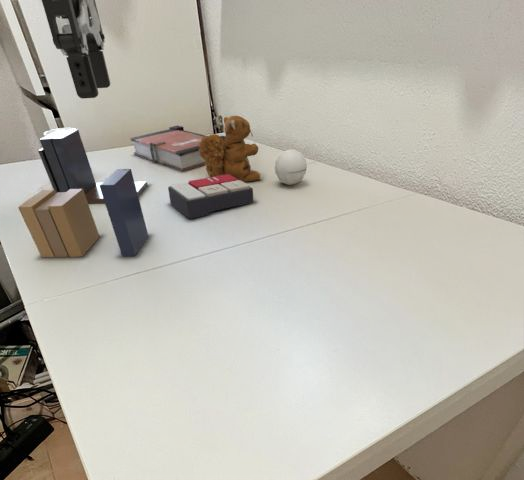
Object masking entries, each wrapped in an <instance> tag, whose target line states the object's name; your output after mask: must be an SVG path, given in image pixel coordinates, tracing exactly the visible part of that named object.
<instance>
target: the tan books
mask: <svg viewBox="0 0 524 480" xmlns="http://www.w3.org/2000/svg"><path fill="white" fill-rule="evenodd" d="M17 209H18V210H19V213H20V215H21V217H22V219H23V222H24V223H25V225H26V228H27V230H28V233H29V234H30V235H31V238H32V240H33V242H34V244H35V246H36V248H37V251H38V253H39V254H40V257H41V258H82V257H84V256H85V255H86V253H87V252H88V251H89V250H90V249H91V247H92V246H93V245H94V244H95V243H96V242H97V241H98V239H99V238H100V236H101V235H100V234H99V231H98V228H97V225H96V222H95V219H94V217H93V214H92V210H91V208H90V205H89V203H88V202H87V199H86V196H85V193H84V191H83V189H70V190H68V191H67V192H57V193H56V191H55V190H54V189H41V190H40V191H38V192H37V193H35V194H34V195H33V196H31V197H29V198H28V199H27V200H26V201H24V202H23V203H22V204H20V205H18V206H17Z"/></svg>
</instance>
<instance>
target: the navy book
mask: <svg viewBox="0 0 524 480" xmlns="http://www.w3.org/2000/svg"><path fill="white" fill-rule="evenodd" d="M134 182H135V179H134V175H133V172H132V169H131V168H116V170H114V172H112V173H111V174H110V175H109V176H108V177H107V178H106V179H105V180H103V182H101V183H102V184H100V185H99V186H100V189H101V192H102V195H103V198H104V202H105V203H104V204H105V207H106V211H107V214H108V217H109V220H110V223H111V226H112V229H113V232H114V235H115V239H116V242H117V246H118V248H119V251H120V254H121V257H136V256H137V255H138V253H139V251H140V250H141V248H142V246H143V245H144V244H145V242H146V240H147V239H148V237H149V232H148V229H147V226H146V225H147V224H146V221H145V217H144V213H143V210H142V205H141V202H140V199H139V197H138V194H137V190H136V186H135V183H134Z"/></svg>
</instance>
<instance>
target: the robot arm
mask: <svg viewBox="0 0 524 480" xmlns="http://www.w3.org/2000/svg"><path fill="white" fill-rule="evenodd" d="M41 2H42V7H43V9H44V10H43V11H44V13H45V17H46V20H47V23H48V26H49V27H48V28H49V30H50V33H51V37H52V42H53V45H54V46H55V48H56V50H60V52H61V54H62V55H63V56H64V57H66V58H65V59H66V61H67V65H68V68H69V71H70V75H71V79H72V82H73V85H74V89H75V92H76V96H77V97H78V98H80V99H95V98H97V97H98V96H99V89H107V88H109V87H110V86H111V80H110V79H111V78H110V75H109V72H108V67H107V64H106V59H105V55H104V46H105V44H104V43H105V39H106V37H105V34H104V31H103V27H102V23H101V19H100V15H99V11H98V8H97V7H98V6H97V3H96V0H41Z"/></svg>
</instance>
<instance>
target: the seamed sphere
mask: <svg viewBox="0 0 524 480" xmlns="http://www.w3.org/2000/svg"><path fill="white" fill-rule="evenodd" d="M314 163H315V161H312V162H308V163H307V159H306V158H305V156H304V155H303V154H302V152H300V151H298V150H297V149H293V148H292V149H286V150H284V151H282V152H281V153H280V154H279V155H278V156H277V158H276V160H275V164H274V173H275V175H276V177H277V179H278V180H279V181H280V182H281V183H282V184H285V185H289V186H293V185H296V184H298V183H300V182H301V181H302V180H303V179H304V177H305V176H306V173H307V168H308V167H307V165H309V164H314Z"/></svg>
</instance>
